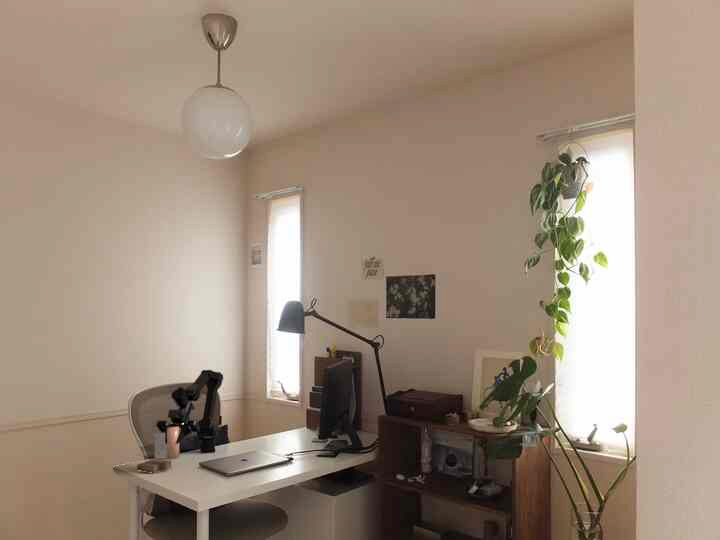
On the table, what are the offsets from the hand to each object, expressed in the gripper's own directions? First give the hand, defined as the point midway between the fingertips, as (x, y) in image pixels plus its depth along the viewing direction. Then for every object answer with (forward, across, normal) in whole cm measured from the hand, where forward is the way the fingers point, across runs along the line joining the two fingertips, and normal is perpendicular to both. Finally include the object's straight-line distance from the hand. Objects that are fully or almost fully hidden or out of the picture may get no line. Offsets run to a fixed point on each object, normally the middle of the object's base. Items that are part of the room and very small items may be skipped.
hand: (171, 443), depth 241 cm
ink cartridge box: (-8, -16, +25) cm, 30 cm away
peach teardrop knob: (+4, 0, +6) cm, 7 cm away
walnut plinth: (+7, -10, +10) cm, 16 cm away
